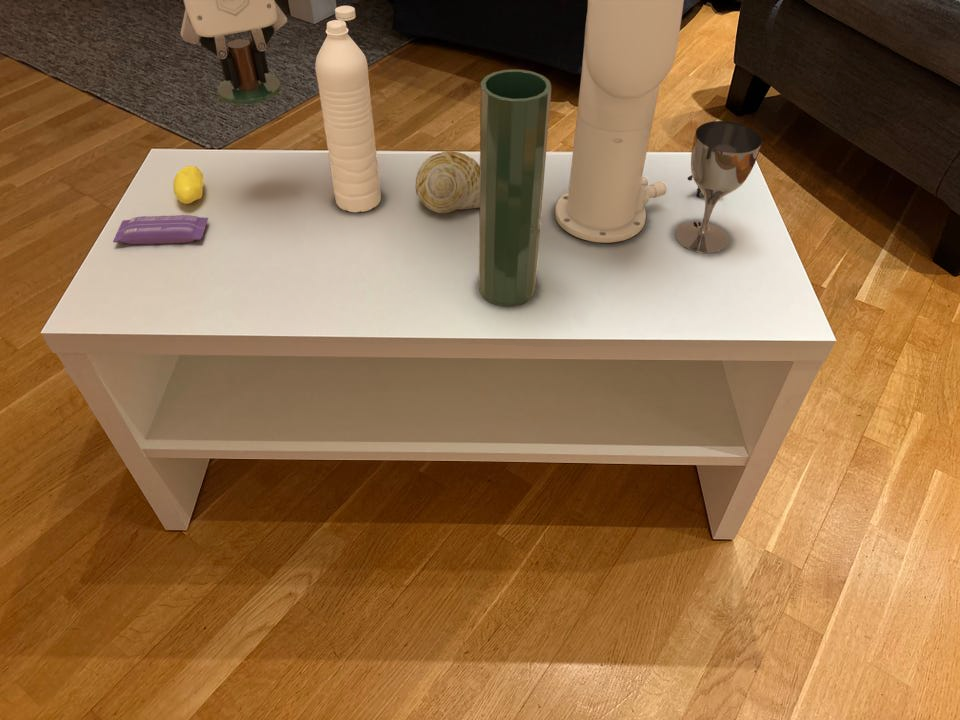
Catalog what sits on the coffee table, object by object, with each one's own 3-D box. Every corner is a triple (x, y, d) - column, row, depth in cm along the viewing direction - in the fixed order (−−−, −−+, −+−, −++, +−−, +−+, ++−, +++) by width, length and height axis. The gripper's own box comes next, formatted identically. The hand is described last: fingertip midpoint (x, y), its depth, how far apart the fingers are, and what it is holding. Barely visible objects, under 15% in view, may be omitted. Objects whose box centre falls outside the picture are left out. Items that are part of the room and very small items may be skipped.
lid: (272, 76, 101) (262, 26, 96) (289, 100, 96) (278, 49, 91) (214, 88, 99) (200, 38, 94) (227, 114, 93) (213, 62, 89)
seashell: (494, 176, 110) (493, 137, 100) (482, 235, 107) (480, 200, 97) (427, 166, 110) (420, 127, 101) (414, 224, 108) (405, 189, 98)
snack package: (124, 226, 101) (114, 248, 98) (120, 214, 100) (109, 236, 96) (210, 223, 102) (203, 245, 99) (206, 211, 101) (199, 233, 97)
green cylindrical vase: (518, 265, 96) (529, 64, 77) (544, 296, 92) (563, 92, 73) (469, 279, 94) (469, 77, 75) (494, 312, 90) (501, 106, 71)
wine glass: (660, 227, 102) (682, 127, 92) (709, 215, 104) (736, 116, 94) (692, 260, 97) (719, 158, 86) (742, 247, 99) (775, 146, 88)
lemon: (211, 180, 109) (204, 157, 106) (202, 211, 104) (194, 187, 101) (182, 181, 109) (174, 158, 106) (171, 212, 103) (163, 188, 101)
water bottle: (375, 215, 104) (356, 34, 86) (330, 211, 104) (301, 31, 86) (388, 181, 110) (372, 6, 92) (346, 178, 110) (321, 4, 93)
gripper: (140, -58, 78) (190, 107, 91) (290, -79, 83) (317, 80, 96) (130, -76, 83) (178, 83, 96) (272, -95, 88) (300, 58, 101)
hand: (247, 80), depth 96 cm, fingers closed on lid, 2 cm apart
